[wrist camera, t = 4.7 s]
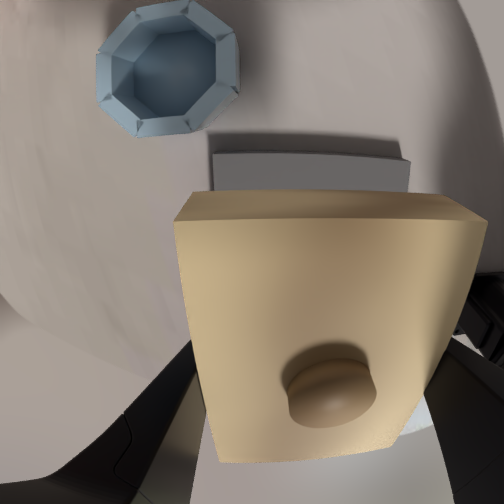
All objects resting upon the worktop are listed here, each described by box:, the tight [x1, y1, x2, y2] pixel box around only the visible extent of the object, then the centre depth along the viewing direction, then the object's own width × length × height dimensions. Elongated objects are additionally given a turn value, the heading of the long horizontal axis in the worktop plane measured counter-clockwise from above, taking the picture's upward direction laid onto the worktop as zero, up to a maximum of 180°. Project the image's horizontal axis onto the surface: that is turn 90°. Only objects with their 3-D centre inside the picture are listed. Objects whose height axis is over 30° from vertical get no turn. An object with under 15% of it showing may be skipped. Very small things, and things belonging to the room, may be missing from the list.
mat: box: [213, 151, 411, 192], centre depth 20 cm, size 12×12×1 cm
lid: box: [173, 189, 488, 463], centre depth 8 cm, size 6×9×3 cm
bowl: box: [96, 0, 240, 138], centre depth 14 cm, size 7×7×4 cm
